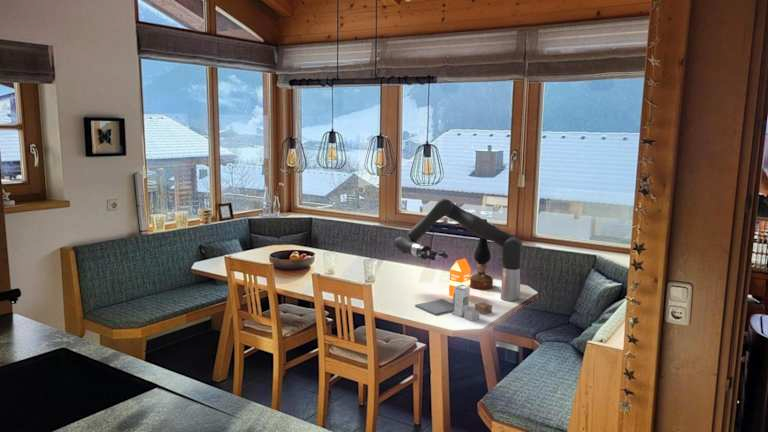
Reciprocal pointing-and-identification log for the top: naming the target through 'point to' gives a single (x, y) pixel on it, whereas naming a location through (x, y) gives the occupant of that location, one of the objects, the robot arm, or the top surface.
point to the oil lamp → (481, 267)
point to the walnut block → (483, 308)
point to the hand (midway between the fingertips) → (440, 257)
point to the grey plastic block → (471, 315)
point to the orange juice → (459, 275)
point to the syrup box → (460, 299)
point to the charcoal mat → (436, 307)
